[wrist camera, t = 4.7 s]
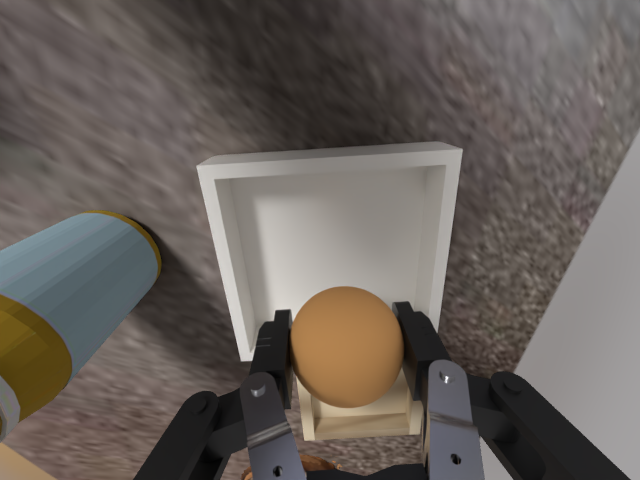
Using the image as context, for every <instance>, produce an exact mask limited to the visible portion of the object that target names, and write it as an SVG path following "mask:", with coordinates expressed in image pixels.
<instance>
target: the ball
mask: <svg viewBox="0 0 640 480" xmlns="http://www.w3.org/2000/svg"><path fill="white" fill-rule="evenodd" d="M289 353H290V361H291V365H292V368H293V370H294V373H295V375H296V376H297V378H298V380H299V381H300V383H301V384H302V386H303V387H304V388H305V389H306V390H307V391H308V392H309V393H310V394H311V395H312V396H314V397H315V398H316V399H318V400H320V401H321V402H323V403H326V404H328V405H331V406H334V407H339V408H357V407H362V406H365V405H368V404H371V403H373V402H375V401H376V400H378V399H379V398H380V397H382V396H383V395H384V394H385V393H386V392H387V391H388V390H389V389H390V388H391V387H392V385H393V384H394V383H395V381H396V379H397V377H398V375H399V373H400V370H401V368H402V364H403V359H404V340H403V334H402V330H401V327H400V325H399V322H398V320H397V318H396V316H395V315H394V313H393V312H392V310H391V309H390V308H389V307H388V305H387V304H386V303H384V302H383V301H382V300H381V299H380V298H379V297H377V296H376V295H374V294H372V293H371V292H369V291H366V290H364V289H361V288H357V287H350V286H339V287H333V288H329V289H326V290H323V291H321V292H319V293H317V294H316V295H314V296H313V297H311V298H310V299H309V300H308V301H307V302H306V303H305V304H304V305H303V306H302V307H301V309H300V310H299V312H298V313H297V315H296V317H295V319H294V321H293V324H292V326H291V330H290V335H289Z"/></svg>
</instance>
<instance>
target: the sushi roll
mask: <svg viewBox="0 0 640 480" xmlns="http://www.w3.org/2000/svg"><path fill="white" fill-rule="evenodd" d="M299 456H300V459H301V463H302V466H303V469H304V472H305V476H306V471H316V470H331V469H334V465H333V464H332V463H327V462H326V461H325V460H323V459H321V458H319V457H314V456H309V455H299ZM332 462H333V463H336V462H335V461H332ZM340 466H341V465H340V464H339V465H338V466H337V469H339V467H340ZM341 467H342V466H341ZM241 479H242V480H253V477H252V471H251V466H250V467H249V468H248V469H247V470H245V471H244V473H243V474H242V477H241Z"/></svg>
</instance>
